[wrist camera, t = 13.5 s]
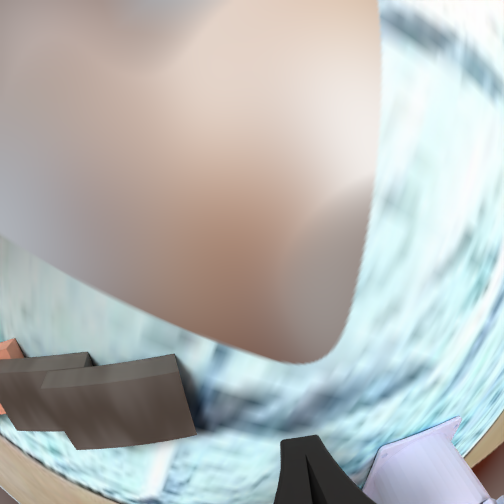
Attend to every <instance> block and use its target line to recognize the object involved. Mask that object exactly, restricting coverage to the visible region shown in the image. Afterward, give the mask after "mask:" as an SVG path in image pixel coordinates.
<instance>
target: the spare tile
mask: <svg viewBox="0 0 504 504" xmlns="http://www.w3.org/2000/svg"><path fill="white" fill-rule="evenodd" d="M16 358H24V356H23V354H22V352H21V350H20V348H19V346H18V344H17V341H16V339H15V338H14V339H10V340H7V341H4V342H1V343H0V359H16ZM0 414H6V412H5V411H4V409H3V407H2V405H1V404H0Z"/></svg>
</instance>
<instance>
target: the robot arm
mask: <svg viewBox="0 0 504 504" xmlns="http://www.w3.org/2000/svg"><path fill="white" fill-rule="evenodd" d="M461 420H462V418H461V417H460V416H457V417H455V418H453V419H451V420H449V421H447V422H444V423H442V424H440V425H438V426H435V427H433V428H431V429H428V430H426V431H423V432H421V433H418V434H416V435H413V436H410V437H408V438H405V439H402V440H399V441H396V442H393V443H390V444H387V445H384V446H382V447H381V448H380V449H379V451H378V453H377V456H376V458H375V461H374V463H373V466H372V468H371V471H370V473H369V475H368V478H367V480H366V482H365V485H364V487H363V489H362V490H361V489H360V488H359V487H358V486H357V485H356V484H355V483H354V482H353V481H352V480H351V479H350V478H349V477H348V476H347V475H346V474H345V472H344V471H343V470H342V469H341V468H340V467H339V465H338V464H337V463H336V462H335V460H334V459H333V458H332V456H331V455H330V453H329V452H328V451H327V449H326V448H325V446H324V444H323V443H322V441H321V439H320V438H319V436H317V435H312V436H305V437H299V438H292V439H284V440H282V441H281V442H280V448H281V471H280V477H279V483H278V488H277V492H276V496H275V500H274V503H273V504H504V495H502V496H500V498H498V499H497V500H495V499H492V498H491V497H490V496H489V495H488V493H487V491H486V490H485V489H484V487H483V486H482V484H481V483H480V481H479V480H478V478H477V477H476V476H475V474H474V473H473V471H472V470H471V468H470V467H469V466H468V464H467V463H466V461H465V460H464V459H463V457H462V456H461V455H460V453H459V452H458V450H457V449H456V448H455V446H454V445H453V444H452V442H451V440H452V438H453V436H454V434H455V432H456V431H457V429H458V427H459V425H460V423H461Z"/></svg>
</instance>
